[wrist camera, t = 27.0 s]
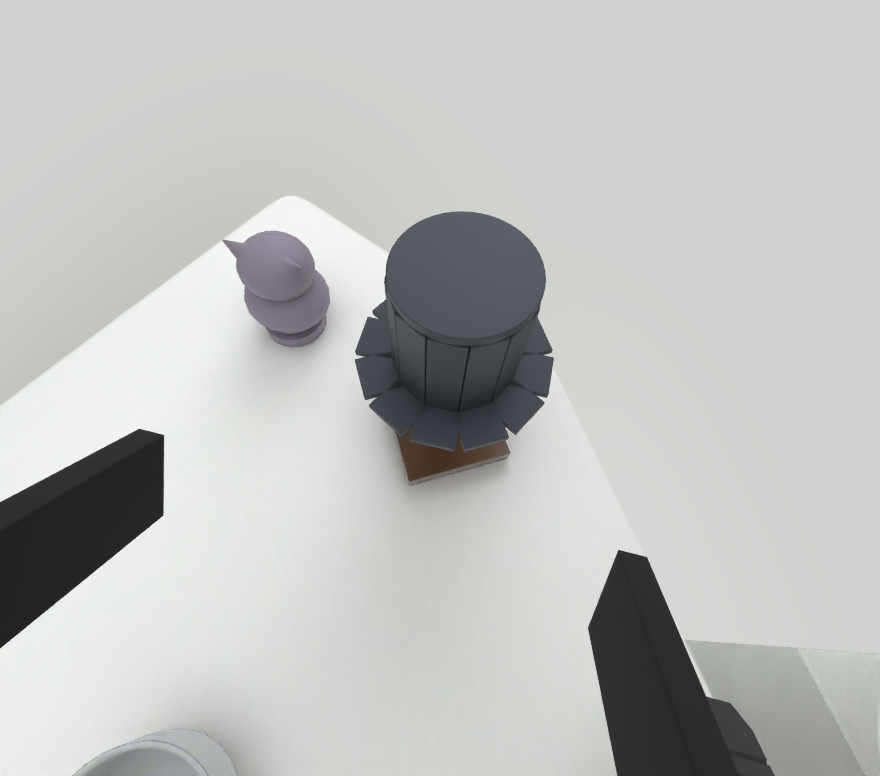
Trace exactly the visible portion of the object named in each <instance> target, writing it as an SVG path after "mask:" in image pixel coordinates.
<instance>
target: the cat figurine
mask: <svg viewBox="0 0 880 776" xmlns="http://www.w3.org/2000/svg"><path fill="white" fill-rule="evenodd" d="M223 242H224V243H225V244H226V246H227V247H228V248H229V249H230V251H231V252H232V253H233V255H234V256H235V257H236V258H237V261H236V267H237V272H238V274H239V277H240V279H241V281H242V283H243V284H244V285H245V295H244V300H245V303H246V306H247V308H248V310H249V313H250V314H251V315H252V316H253V317H254V318H255V319H256V320H257V321H258V322H259V323H260V324H261V325H263V326H265V327H266V329H267V330H268V332H269V334H270V336H271V337H272V338H273V339H274V340H275V341H276V342H278V343H280V344H282V345H284V346H290V347H297V346H303V345H306V344H309V343H311V342H312V341H314V340H315V339H317V338H318V337H319V336H320V334H321V333H322V332H323V330H324V327H325V324H326V316H325V314H326V312H327V309H328V306H329V303H330V297H329V288H328V286H327V284H326V282H325V280H324V278H323V277H322V275H321V274H319V273H318V272H317V271H316V270H315V263H314V259H313V257H312V255H311V253H310V251H309V249H308V248H307V247H306V246H305V245H304V244H303V243H302V242H301V241H300V240H299V239H297V238H296V237H294V236H291V235H289V234H287V233H284V232H279V231H265V232H261V233H257V234H255V235H254V236H252V237H250V238H248V239H247V240H246V241H245V242H244V243H238V242H233V241H227V240H223Z"/></svg>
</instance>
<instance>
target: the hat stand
mask: <svg viewBox="0 0 880 776" xmlns="http://www.w3.org/2000/svg"><path fill="white" fill-rule="evenodd" d="M412 427H413V426H412ZM412 427H411V428H410V429H409V430H408V431H407V432H406V433H405V434H404V435H403V436H402V437H401V436H400V435H399V434H398V433H396V432H395V431H394V432H395V436H396V440H397V443H398V447H399V451H400V454H401V458H402V462H403V465H404V469H405V473H406V476H407V480H408V484H409V485H413V484H417V483H421V482H424V481H428V480H431V479H435V478H438V477H442V476H445V475H449V474H453V473H456V472H460V471H463V470H467V469H470V468H474V467H477V466H481V465H485V464H488V463H492V462H495V461H499V460H502V459H506V458H508V456H509V455H510V451H509V448H508V446H507V443H506V440H505V441H501V442H497V443H494V444H490V445H487V446H483V447H480V448H476V449H472V450H469V451H465V452H464V450H463V447H462V444H461V441H460V438H459V436H458V440H457V445H456V449H455V452H453V451H449V450H444V449H440V448H436V447H432V446H428V445H423V444H419V443H415V442H411V441H410V440H409V438H410V435H411V431H412Z"/></svg>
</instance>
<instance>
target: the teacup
mask: <svg viewBox="0 0 880 776" xmlns="http://www.w3.org/2000/svg"><path fill="white" fill-rule="evenodd" d="M72 776H237V774H236V771H235V768H234V765H233V763H232V761H231V759H230V757H229V756H228V754H227V753H226V751H225V750H224V749H223V748H222V747H221V746H220V745H219V744H218V743H217V742H216V741H215V740H213V739H212V738H210V737H209V736H207V735H205V734H202V733H200V732H197V731H193V730H187V729H170V730H164V731H159V732H156V733H153V734H150V735H147V736H144V737H141V738H139V739H137V740H134V741H132V742H130V743H126V744H123V745H121V746H118V747H115V748H113V749H111V750H108V751H106V752H104V753H103V754H101V755H99V756H97V757H96V758H94V759H93V760H91V761H90V762H89V763H87V764H85V765H84V766H83V767H82V768H81V769H80V770H78V771H77V772H76V773H75V774H73V775H72Z"/></svg>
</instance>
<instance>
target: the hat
mask: <svg viewBox="0 0 880 776" xmlns="http://www.w3.org/2000/svg"><path fill="white" fill-rule="evenodd" d="M545 282H546V276H545V269H544V265H543V261H542V259H541V256H540V254H539V252H538V251H537V249H536V247H535V246H534V245H533V243H532V242H531V241H530V240H529V239H528V238H527V237H526V236H525V235H524V234H523V233H522V232H521V231H519V230H518V229H517V228H515V227H513V226H512V225H510V224H509V223H507V222H505V221H503V220H501V219H498V218H495V217H492V216H489V215H485V214H481V213H475V212H449V213H442V214H439V215H434V216H431V217H429V218H426V219H424V220H422V221H420V222H418V223H416V224H414V225H413V226H411V227H410V228H409V229H407V230H406V231H405V232H404V233H403V234H402V235H401V236H400V237H399V238H398V240H397V241H396V242H395V244H394V245H393V247H392V249H391V251H390V253H389V256H388V260H387V264H386V276H385V281H384V284H385V293H386V300H385V301H384V302H382V303H381V304H380V305H379V306H378V307H376V308H375V309H374V310H373V314H374V315H375V316H376V317H377V318H378V319H376V318H371V317H368V318H367V320H366V323H365V326H364V329H363V332H362V334H361V337H360V340H359V343H358V345H357V348H356V351H355V352H356V355H360V356H364V357H363V358H359V359H355V363H356V367H357V371H358V375H359V379H360V382H361V386H362V390H363V394H364V398H365V400H368V399H372V398H375V397H377V398H376V399H375V400H374V401H373V402H372V403H370V404H369V407H370V408H371V409H372V410H373V411H374V412H375V413H376V414H377V415H378V416H379V417H380V418H381V419H383V420H384V421H385V422H386V423H387V424H388V425H389V426H390V427H391V428H392V429H393V430H394V431H395V432H396V433H398V434H399V435H400V436H401V437H402V436H403V435H404V434H405V433H406V432H407V431H408V430H409V429H410V428H411V427H412V426H413V427H412V431H411V435H410V438H409V440H410V441H411V442H415V443H419V444H423V445H428V446H432V447H436V448H440V449H444V450H449V451H453V452H455V449H456V445H457V440H458V436H459V438H460V441H461V444H462V447H463V450H464V452H465V451H469V450H472V449H476V448H480V447H483V446H487V445H490V444H494V443H497V442H501V441H505V440H508V438H509V437H508V434H507V431H506V429H505V427H506V428H508V429H509V430H510V431H511V432H512V433H514V434H515V435H516V434H517V433H518V432H519V431H520V430H521V429H522V427H523V426H524V425H525V424H526V423H527V422H528V421H529V420H530V419H531V418H532V417H533V416H534V415H535V413H536V412H537V411H538V410H539V409H540V408H541V407H542V406H543V405H544V402H543V401H542V400H541V399H540V398H538V397H537V396H541V397H545V398H547V396H548V393H549V387H550V380H551V373H552V367H553V360H554V358H553V357H548V356H544V355H545V354H549V353H551V352H552V348H551V346H550V344H549V341H548V339H547V337H546V335H545V333H544V330H543V328H542V326H541V324H540V322H539V320H538V318H537V316H538V313H539V310H540V304H541V300H542V297H543V294H544V289H545ZM536 395H537V396H536Z"/></svg>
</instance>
